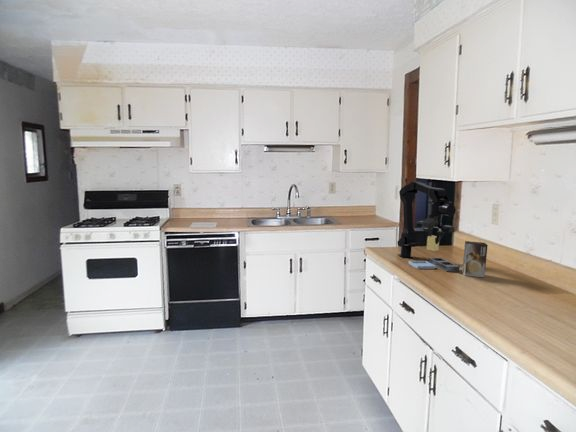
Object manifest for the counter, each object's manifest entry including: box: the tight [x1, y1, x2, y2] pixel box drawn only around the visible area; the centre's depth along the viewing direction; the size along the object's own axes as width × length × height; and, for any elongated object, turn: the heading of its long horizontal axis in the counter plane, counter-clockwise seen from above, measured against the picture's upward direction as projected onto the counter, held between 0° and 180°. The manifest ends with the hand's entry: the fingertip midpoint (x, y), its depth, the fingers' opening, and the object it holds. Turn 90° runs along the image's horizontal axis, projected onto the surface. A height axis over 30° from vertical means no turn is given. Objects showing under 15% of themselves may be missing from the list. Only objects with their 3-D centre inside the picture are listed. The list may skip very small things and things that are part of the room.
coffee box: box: [461, 240, 488, 278], centre depth 191 cm, size 9×6×16 cm
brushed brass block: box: [426, 234, 440, 252], centre depth 202 cm, size 4×4×7 cm
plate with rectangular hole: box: [427, 257, 461, 273], centre depth 205 cm, size 18×7×2 cm, turn 9°
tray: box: [408, 260, 437, 270], centre depth 204 cm, size 10×10×2 cm
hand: (433, 242), depth 202 cm, fingers closed on brushed brass block, 4 cm apart
